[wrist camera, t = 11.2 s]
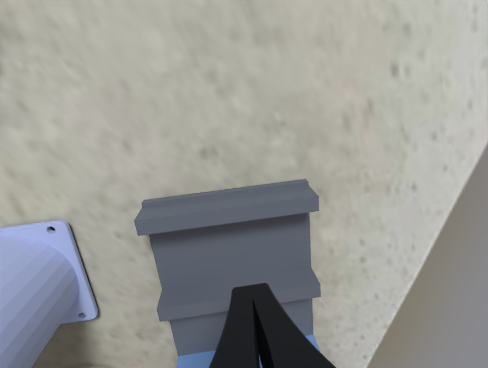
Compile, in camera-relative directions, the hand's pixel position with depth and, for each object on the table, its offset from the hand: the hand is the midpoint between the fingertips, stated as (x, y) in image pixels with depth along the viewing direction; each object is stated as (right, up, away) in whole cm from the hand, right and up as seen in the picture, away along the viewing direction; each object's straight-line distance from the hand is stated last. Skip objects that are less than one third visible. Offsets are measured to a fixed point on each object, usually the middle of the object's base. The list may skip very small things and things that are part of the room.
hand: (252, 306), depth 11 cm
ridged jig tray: (0, -6, +12) cm, 13 cm away
